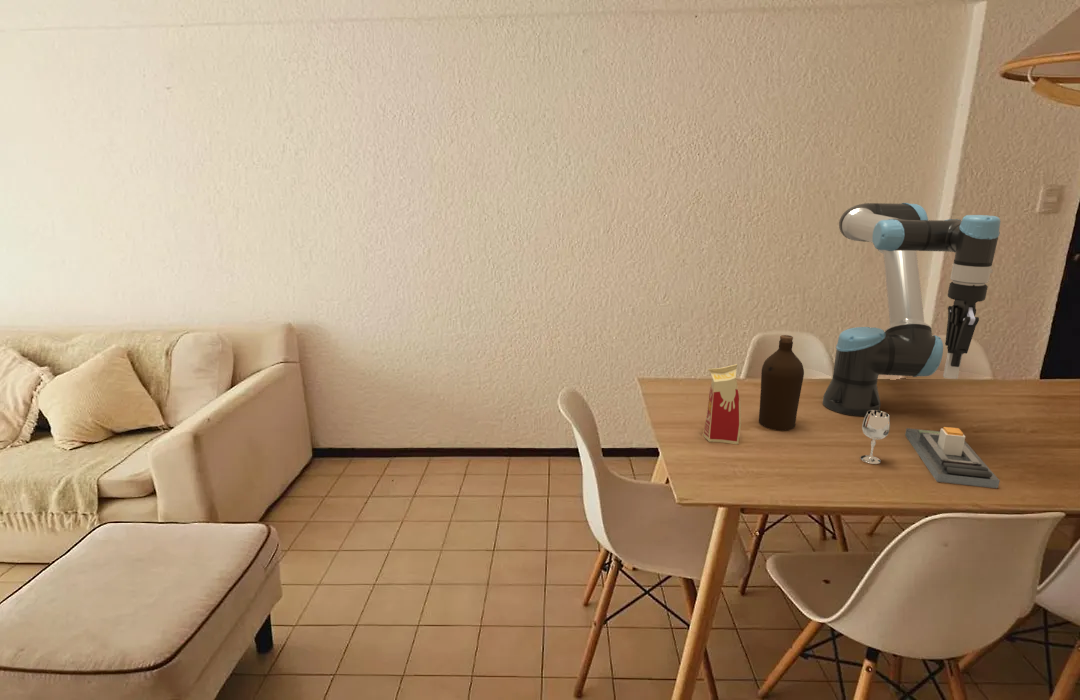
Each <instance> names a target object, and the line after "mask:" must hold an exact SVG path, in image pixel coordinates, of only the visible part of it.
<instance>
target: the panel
mask: <svg viewBox="0 0 1080 700" xmlns="http://www.w3.org/2000/svg"><path fill="white" fill-rule="evenodd" d="M904 434H905V437H906V439H907V441H908V442H909V443H910V445H911V446H912V447H913V449H914V451H915V452H916V454H917V455H918V456H919V457H920V459H921V460H922V462H923V464H924V465H925V466H926V468H927V469H928V471H929V472H930V475H932V477H933V478H934V480H935V481H936V482H938V483H945V484H947V483H948V484H954V485H964V486H972V487H981V488H990V489H991V488H992V489H997V488H998V489H999V485H1000V481H1001V480H1000V479H999V478H998V477H997V475H996V474H995V473H994V472H993V471H992V470H991V469H990V468H989V466H988V465H987V464H986V463H985V462H984V461H983V460H982V458H981V457H980V456H979V455H978V454H977V453H976V452H975V450H974V449H973V448H972V447H971V446H970V445H969V444H968V443H967V441H966V440H965V441H964V446H963V451H962V455H961V456H955V455H945V454H944V453H943V451H942V450H941V449H940V447H939V446H938V440H939V434H940V430H930V429H929V430H928V429H919V428H910V427H906V429H905V433H904ZM944 463H953V464H962V465H972V466H981V467H986V468H988V471H989V472H991V473H992V477H990V478H986V477H977V476H968V475H959V474H950V473H947V471H946V469H944V468H943V464H944Z"/></svg>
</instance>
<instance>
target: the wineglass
mask: <svg viewBox="0 0 1080 700" xmlns="http://www.w3.org/2000/svg"><path fill="white" fill-rule="evenodd" d="M890 428H891V419H890V415H889V414H888V413H887V412H885V411H882V410H880V411H878V410H869V411H867V413H866V415H865V416H864V418H863V421H862V426H861V429H862V433H863V435H865V436H866V437H867V438H869V439H870V440H871V439H872V440H871V441H870V446H871V447H870V448H871V449H870V453H869V455H866V454H864V455H861V456H860V457H859V458H860V460H861V461H862V462H863V463H867V464H870V465H871V464H872V465H877V464H878V465H879V464H881V462H882V461H881V459H880V458H878V457H877V456H874V455H873V452H874V448H875V446H876V444H877V440H883V439H884V438H886V437H887V436H888V435H889V432H890Z"/></svg>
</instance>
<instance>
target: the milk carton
mask: <svg viewBox="0 0 1080 700" xmlns="http://www.w3.org/2000/svg"><path fill="white" fill-rule="evenodd" d="M737 368H738V363H735V364H731V365H728V366H727V365H726V366H724V367H718V368H717V367H716V368H708V369H707V370H708V371H709V372H710V375H711V377H712V379H711V384H710V388H709V394H708V400H707V401H708V402H707V409H706V418H705V422H704V428H703V432H702V433H703V434H702V436H703V437H704V438H705V440H707V441H708V442H709V443H724V444H731V445H732V444H733V445H739V441H740V433H741V426H742V415H741V411H742V410H741V395H740V391H739V387H738V381H737Z"/></svg>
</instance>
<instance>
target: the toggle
mask: <svg viewBox="0 0 1080 700" xmlns="http://www.w3.org/2000/svg"><path fill="white" fill-rule="evenodd" d="M939 431H940V434H939V440H938V446H939V447H940V449H941V450H942V451H943V453H944V454H945V455H955V456H961V455H962V451H963V446H964V441H965V442H966V440H965V439H966V435H965V434H964V432H963V431H962V430H961V429H960V428H959V427H950V426H949V427H948V426H943V428H940V430H939Z"/></svg>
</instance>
